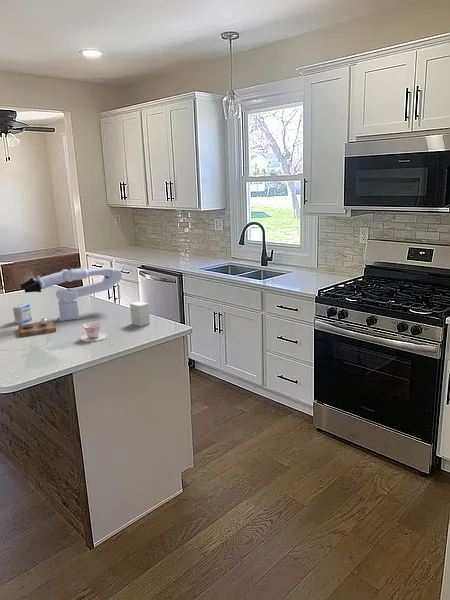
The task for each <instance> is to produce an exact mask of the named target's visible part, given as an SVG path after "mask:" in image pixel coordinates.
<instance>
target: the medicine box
mask: <svg viewBox="0 0 450 600" xmlns="http://www.w3.org/2000/svg"><path fill="white" fill-rule="evenodd" d="M12 310H13V317H14V321H15V324H16V325H25V324H27V323H28V322H30V321H32V310H31V304H29V303H23V304H22V303H21V304H20V305H17V306H14V307H13V308H12Z"/></svg>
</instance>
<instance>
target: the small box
mask: <svg viewBox="0 0 450 600" xmlns="http://www.w3.org/2000/svg"><path fill="white" fill-rule="evenodd" d="M129 309H130V317H131V318H130V321H131V324H132V325H135V326H138V327H144V326H148V325H149V324H151V320H150V311H149V310H150V307H149V303H146V302H142V301H135V302H131V303H129Z"/></svg>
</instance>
